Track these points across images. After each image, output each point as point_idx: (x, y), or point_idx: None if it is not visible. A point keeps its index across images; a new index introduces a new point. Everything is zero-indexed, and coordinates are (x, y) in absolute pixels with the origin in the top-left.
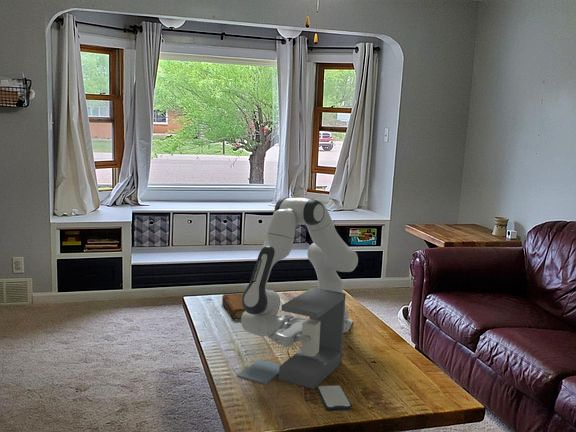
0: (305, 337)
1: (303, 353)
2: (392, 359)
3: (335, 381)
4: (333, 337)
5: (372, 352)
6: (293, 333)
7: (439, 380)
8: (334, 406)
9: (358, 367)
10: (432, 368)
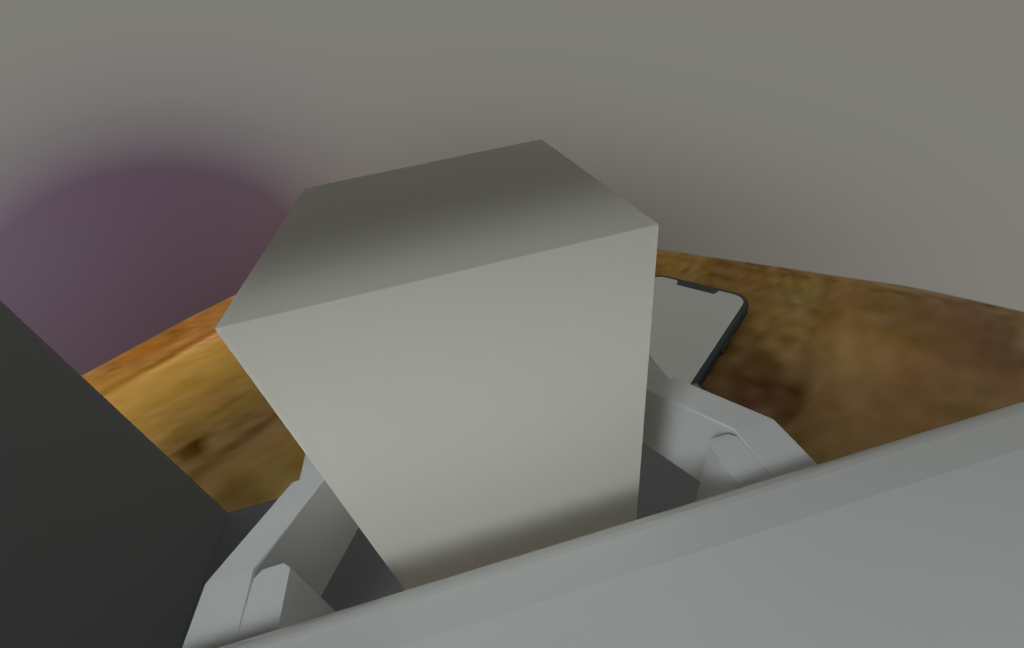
0: (654, 372)
1: None
2: (143, 413)
3: None
4: (114, 529)
5: None
6: (925, 469)
7: None
8: (715, 291)
9: (294, 455)
10: (210, 312)
